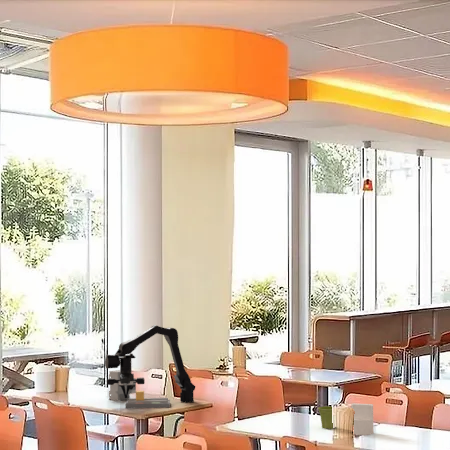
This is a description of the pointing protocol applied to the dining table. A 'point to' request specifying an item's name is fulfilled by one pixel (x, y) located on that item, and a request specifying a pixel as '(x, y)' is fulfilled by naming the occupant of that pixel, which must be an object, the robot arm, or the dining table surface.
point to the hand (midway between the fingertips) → (126, 398)
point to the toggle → (139, 395)
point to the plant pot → (326, 417)
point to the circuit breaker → (116, 389)
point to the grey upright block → (363, 419)
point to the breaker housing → (148, 403)
